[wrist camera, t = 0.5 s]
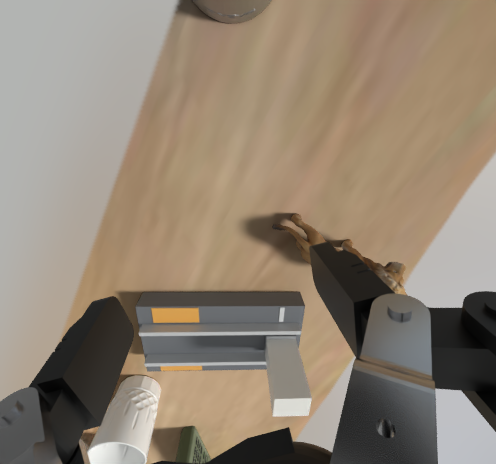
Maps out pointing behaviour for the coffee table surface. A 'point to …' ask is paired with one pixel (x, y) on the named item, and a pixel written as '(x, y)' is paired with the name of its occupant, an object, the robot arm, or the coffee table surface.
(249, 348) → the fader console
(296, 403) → the fader knob
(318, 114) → the coffee table surface
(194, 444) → the handheld radio
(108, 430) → the white cup
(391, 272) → the lion figurine
